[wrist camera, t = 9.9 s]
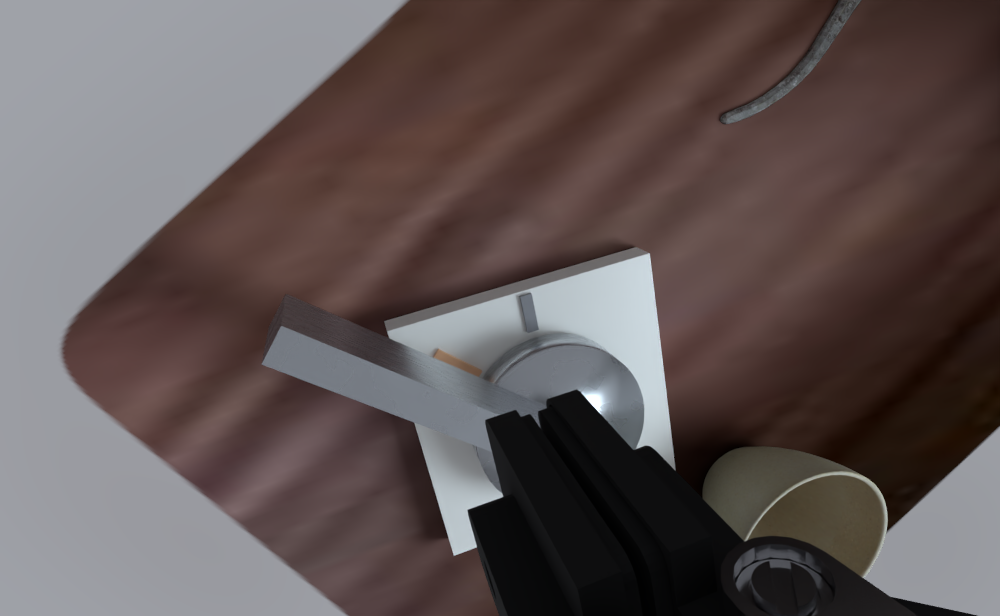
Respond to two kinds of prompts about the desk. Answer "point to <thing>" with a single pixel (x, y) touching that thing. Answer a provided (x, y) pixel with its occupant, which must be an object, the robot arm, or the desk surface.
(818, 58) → the pliers
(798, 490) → the flower pot
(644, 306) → the dial plate
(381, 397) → the dial
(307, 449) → the desk surface
